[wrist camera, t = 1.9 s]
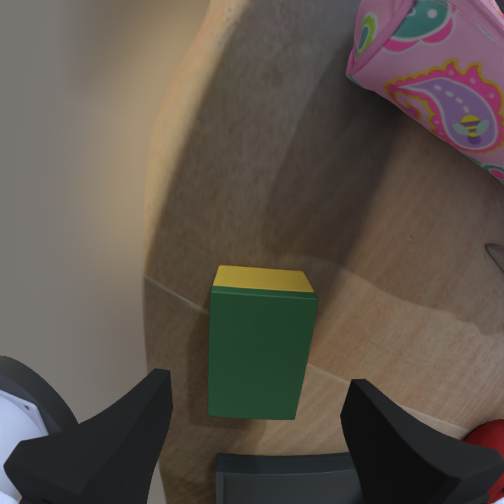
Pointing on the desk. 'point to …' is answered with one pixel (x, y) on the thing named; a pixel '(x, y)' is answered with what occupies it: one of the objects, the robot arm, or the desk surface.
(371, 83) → the pencil case
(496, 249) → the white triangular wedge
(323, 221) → the desk surface
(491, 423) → the apple
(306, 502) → the tray
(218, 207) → the desk surface
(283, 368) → the sponge
